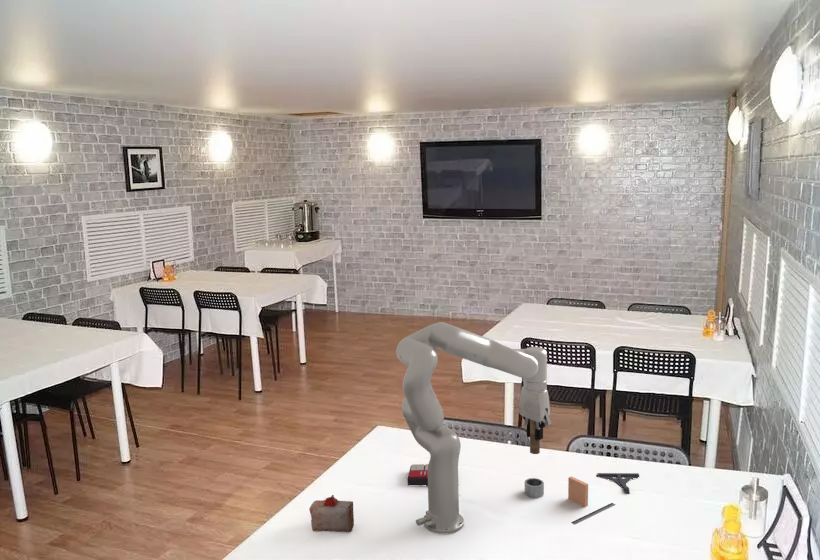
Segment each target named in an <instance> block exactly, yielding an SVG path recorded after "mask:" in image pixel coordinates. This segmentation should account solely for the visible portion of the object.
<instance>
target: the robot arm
mask: <svg viewBox="0 0 820 560" xmlns="http://www.w3.org/2000/svg"><path fill="white" fill-rule="evenodd" d="M437 349H438V350H439V351H442V352H444V353H446V354H449V355H451V356H453V357H454V356H455V357H458V358H461V359H464V360H466V361H470V362H473V363H475V364H478V365H481V366H484V367H487V368H489V369H490V368H491V369H495V370H498V371H501V372H504V373H507V374H509V375H513V376H515V377H518V378H521V379H522V380H521V381H522V382H523V386H522V387H521V389H520V394H519V405H518V413H519V415H520V416H521V417H522V418H523V420H524V424H525V426H526V437H527V438H530V419H531V420H533V421H536V428H537V429H535V440H536V441H538V440H540V441H541V440H543V439H544V429H545V427H547V426H549V425H551V424H552V420H551V419H550V411H551V409H550V408H551V407H550V397H549V392H548V387H547V385H548V384H547V382H548V379H547V378H548V374H547V372H548V370H547V369H548V368H547V367H548V354H547V353H548V352H547V350H546V349H545V348H543V347H539V346H531V347H526V348H511V347H508V346H507V345H503V344H502V343H500V342H497V341H495V340H493V339H490V338H489V337H486V336H483V335H480V334H477V333H474V332H472V331H469V330H466V329H464V328H461V327H458V326H455V325H453V324H450V323H447V322H445V321H439V322H435V323H432V324H430V325H428V326H427V325H426V327H423V328H422V329H419V330H418V331H415V332H413V333H412V334H409V335H407V336H405V337H404V338H402V339H401V340H400V341H399V342H398V344H397V346H396V350H395V354H396V357H397V359H398V360H399V362H401V363H402V364H403V365H405V366H407V369H406V371H405V374H404V377H403V380H402V391H403V394H404V398H403V400H402V402H401V403H402V404H401V411H402V415H403V417H404V420H405V422H406V423H407V426H408V427H409V430H410V432H411V434H412V436H413V437H414V440H415V441H416V442H417V444H418V445H420V446H421V448H423V449H424V450H425V451H427V452H428V453H429V454H430V455H429V456H430V459H429V461H428V463H427V464H428V486H427V494H428V496H427V500H428V501H427V502H428V503H427V504H428V510H425V515H423V517H420V518H418V519H415V523H416V526H418V527H419V526H421V525H423V526H424V528H426V529H427V530H428V531H430V532H431V533H432V532H433V533H437V534H441V535H442V534H452V533H455V532H458V531H459V530H461V529H462V528H463V527H464V524H465V520H464V517H463V515H461V514H460V507H459V505H460V501H459V496H460V495H459V460H460V453H461V446H462V445H461V440H460V438H459V436H458V435H457V433H456V432H455V431H454V430H453V429H451V428H450V427H448V426H447V425H445V424H443V423H444V420H445V413H444V410H443V407H442V405H441V404H440V401H439V399H438V397H437V396H436V395H437V394H436V393H435V391H434V389H433V386H432V381H431V379H432V375H433V372H435V369H436V367H437V365H438V361H439V358H438V353H437V351H436V350H437Z"/></svg>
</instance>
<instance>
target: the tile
mask: <svg viewBox="0 0 820 560" xmlns="http://www.w3.org/2000/svg"><path fill="white" fill-rule="evenodd" d="M567 480H568V487H567V488H568V493H567V494H568V496H567V497H568V500H570V501H571V502H573V503H576V504H578V505H580V506H582V507H584V508H586V507H588V506H589V483H587V482H586V481H583V480H580V479H578V478H576V477H574V476H569V477H568V479H567Z"/></svg>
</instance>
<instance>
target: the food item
mask: <svg viewBox="0 0 820 560" xmlns="http://www.w3.org/2000/svg"><path fill="white" fill-rule="evenodd" d="M308 510H309V513H310V518H311V520H310V522H311V530H312V532H337V533H339V532H340V533H352V531H353V528H354V526H355V519H354V517H355V515H354V514H355V513H354V501H350V500H348V501H347V500H338V499H337V498H336V497H335V496H334V494H332V495H331V496H328V497H325V499H323V500H319V499H318V500H313V502H312V504H310V507H309V509H308Z"/></svg>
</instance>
